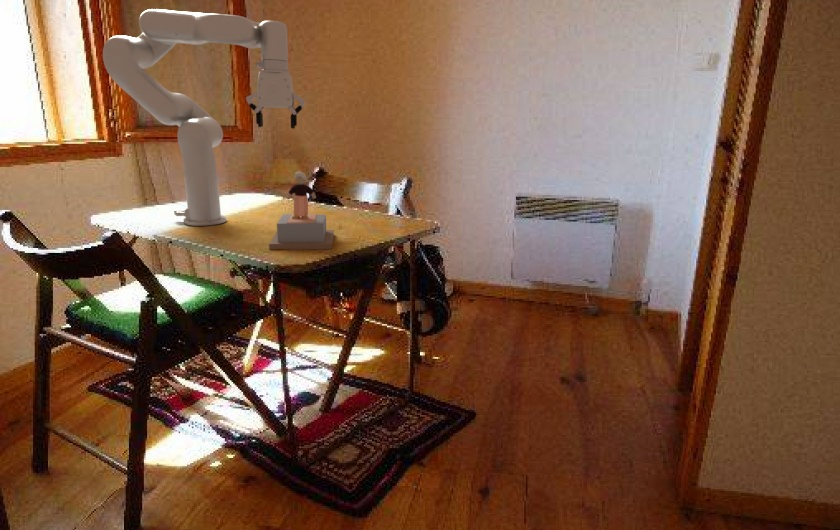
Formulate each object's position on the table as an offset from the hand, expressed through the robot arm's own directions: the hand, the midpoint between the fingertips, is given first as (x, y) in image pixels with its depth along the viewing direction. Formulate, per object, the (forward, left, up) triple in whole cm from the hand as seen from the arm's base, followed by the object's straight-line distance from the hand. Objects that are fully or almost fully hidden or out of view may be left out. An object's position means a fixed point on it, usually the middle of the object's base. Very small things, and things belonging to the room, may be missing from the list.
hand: (276, 127), depth 163 cm
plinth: (+9, -24, -30) cm, 39 cm away
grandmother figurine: (+9, -24, -23) cm, 34 cm away
